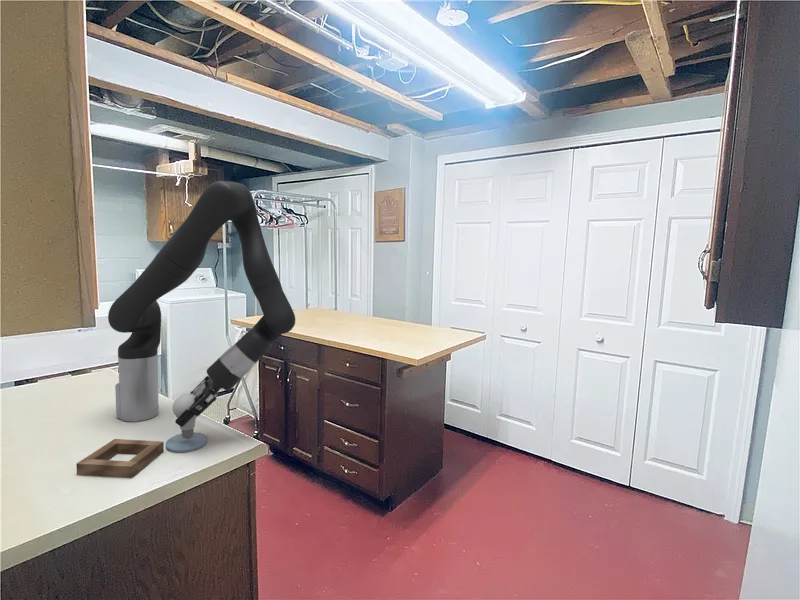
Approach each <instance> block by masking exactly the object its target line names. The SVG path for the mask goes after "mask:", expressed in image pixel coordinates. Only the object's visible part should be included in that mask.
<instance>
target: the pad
mask: <svg viewBox="0 0 800 600" xmlns="http://www.w3.org/2000/svg"><path fill="white" fill-rule="evenodd" d="M207 443H208V436H207V434H205V433H202V432H197V431H196V432H195V431H194V433H193V436H192V437H190V438H189V439H186V438H183V437H182V433H179V434H175V435H173V436H171V437H170V438H168V439H167V440H166V441H165V449H166V451H168V452H170V453H173V454H174V453H175V454H186V453H192V452H195V451H198V450H200V449H203V448H204V447H205V446H206V445H207Z"/></svg>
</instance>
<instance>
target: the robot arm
mask: <svg viewBox="0 0 800 600" xmlns="http://www.w3.org/2000/svg"><path fill="white" fill-rule="evenodd" d="M229 221H231V222H232V225H233V226H234V228H235V230H236V232H237V235H238V237H239V241H240V245H241V253H242V255H241V256H242V263H243V264H242V265H243V269H244V273H245V276H246V278H247V280H248V284H249V285H250V288H251V290H252V293H253V294H254V296H255V298H256V299H257V301H258V303H259V307H260V309H261V311H262V314H263V316H261V317H260V319H259V320H258V321H257V322H256V323H255V324H254V326H253V327H252V328H251V329H250V330H248V331H247V332H246V333H244V335H242V336H241V338H239V339H238V340H237V341H236V342H235V343H234V344H233V345H232V346H231V347H229V348H228V349H226V351H224V353H222V354H221V356H219V357H218V358H217V359H216V360H215V361H214V362H213V363H212V364H211V365H210V366H209V367H208V368H207V369H206V374H207V375H206V376H205V377H204V378H203V379H202V380H201V382H199V383H198V384H197V386H196V387H194V389H193V390H191V391H190V393H189V394H193V395H195V397H194V398H193V402H192V403H191V405H190V406H189V407H188V408H187V409H186V410H185V411H184V412H183V413H182V414H181V415H180V416H179V417H178V418H177V417H176V419H175V425H177V426H179V427H183V426H184V425H185V424H186V423H187V422H188V421H189V420H190V419H191V418H192V417H193V416H194V415H195V416H197V417H199V416H201V414H202V413H203V412H205V411H206V409H208V408H209V407H210V406H211V405H212V404H213V403H214V402H216V401H217V396H218V395H219V391H220V390H221V389H224V390H225V391H231V390H232V389H233V388H234V387H235V386H236V385H237V384H238V383H239V382H240V381H241V380H242V379H243V378H244V377H245V376H246V375H247V374H248V373H249V372H250V371H251V370H252V368H253V367H254V366H255V365H256V363H258V362H259V361H260V359H261V358H263V356H265V354H267V353H268V351H269V350H270V348H271V346H272V344H273V343H274V342H275V341H277V339H279V338H280V337H281V336H282V335H284V334H288V333H290V332H291V331H292V330H293V328H294V327H295V324H296V315H295V313H294V311H293V308H292V306H291V304H290V302H289V299H288V298H287V296H286V293H285V292H284V290H283V287H282V283H281V280H280V278H279V276H278V274H277V271H276V268H275V267H274V264H273V261H272V259H271V256H270V255H269V252H268V247H267V246H266V245H267V244H266V243H265V238H264V235H263V232H262V231H263V230H262V228H261V225H260V224H261V223H260V220H259V216H258V211H257V208H256V204H255V200H254V196H253V195H252V192H251V191H250V189H249V188H248V187H247V186H246V185H244V184H243V183H241V182H240V183H239V182H236V181H227V180H226V181H225V180H220V181H213V182H212V183H210V184H209V185H208V186H207V187H205V189H204V191H203V192H202V194H201V195H200V196H199V198H198V199H197V202H195V205H194V206H193V208H192V210H191V211H190V213H189V214H188V216H187V217H186V219H185V220H184V221H183V223H181V225H180V226H179V227H178V228H177V229H176V230H175V232H174V234H173V235H172V236H171V237H170V238H169V239H168V241H166V243H165V244H164V245H163V246H162V247H161V249H160V250H159V251H158V253H157V254H156V255H155V257H154V258H153V259H152V261H151V262H149V264H148V265H147V266H146V268H145V269H144V270H143V271H142V273H140V275H139V276H138V277H137V279H136V280H135V281H134V282H133V283H132V284H131V285H130V286H129V287H127V289H126V290H125V291H123V293H122V294H121V295H119V297H117V298H116V299H115V300H114V301H113V303H112V304H111V306H110V308H109V309H108V312H107V315H108V316H107V320H108V324H109V325H110V327H111V329H113V330H114V331H116V332H118V333H131V334H130V335H129V337H128V338H127V339H126V340H125V341H124V342H123V343H121V344H120V345H119V346H118V348H117V359H118V360H117V362H118V363H117V365H118V383H116V384H115V387H114V388H115V389H114V390H115V416H116V419H118V420H121V421H124V422H142V421H147V420H150V419H153V418H155V417H157V416H158V414H159V413H160V411H159V410H160V405H159V400H160V399H159V397H160V396H159V364H158V363H159V356H158V355H159V354H158V350H159V347H160V343H161V336H162V311H161V307H160V304H159V302H158V301H157V300H159V299H160V298H162V297H163V296H165V295H166V294H169V293H170V292H171V291H173V290H175V289H176V288H178V287H179V286H181V285H182V284H184V283H185V282H186V281H187V280H188V279H189V278H190V277H191V276H192V275H193V274H194V272H195V271H197V269H198V268H199V267H200V265H201V264H202V262H203V260H204V259H205V255H206V252H207V248H208V244H209V241H210V240H211V239H212V237H213V236H214V235H215V234H216V233H217V232H218V231H219V230H220V229H221V227H223V225H225V224H226V223H227V222H229ZM198 398H199V399H198ZM198 405H199V408H198V409H196V408H195V407H196V406H198ZM197 417H196V418H197Z"/></svg>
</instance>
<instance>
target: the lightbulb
mask: <svg viewBox="0 0 800 600" xmlns="http://www.w3.org/2000/svg"><path fill="white" fill-rule="evenodd" d="M194 397H195V395H193V394H190V393H184V394H182V395H180V396H178V397H177V398H176V399H175V400H174V403H172V404H173V405H172V412H173V414H174V417H176V419H177V418H178V417H179V416H180V415H181V414H182V413H183V412H184V411H185V410H186V409H187V408H188V407H189V406H190V405H191V403H192V402H193V398H194ZM198 399H199V398H198ZM195 408H196V409H198V408H199V405H198V406H196V407H195ZM196 420H197V416H195V415H194V416H193V417H192V418H191V419H190V420H189V421H188V422H187V423H186V424H185V425H184V426H183V427H180V426H179V427H180V430H181V434H182V437H183V438H186V439H189V438H190V437H192V436H193V433H194V432H195V431H194V430H195V426H196Z"/></svg>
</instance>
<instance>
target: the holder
mask: <svg viewBox="0 0 800 600" xmlns="http://www.w3.org/2000/svg"><path fill="white" fill-rule="evenodd" d="M164 449H165V447H164V441H160V440H139V439H123V438H114V439H112V440H111V441H109V442H108V443H106V444H104V445H103V446H102V447H99V448H98V449H97V450H95V451H93V452H92V453H91V454H89V455H87V456H86V457H84V458H83V459H80V460H79V461H78V462H76V475H77V476H84V477H85V476H90V477H102V478H103V477H105V478H106V477H107V478H122V479H124V478H127V479H133V478H134V477H135V476H136V475H138V474H139V473H140V472H141V471H142V470H144V469H145V468H146V467H147V466H149V465H150V464H151V463H152V462H154V460H156V459H157V458H158V457H159V456H161V455H162V454H164V452H165V450H164ZM118 454H119V455H133V456H134V455H135V456H134V457H131V459H130V460H115V459H114V460H111V459H112V458H113V457H115V456H116V455H118Z"/></svg>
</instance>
